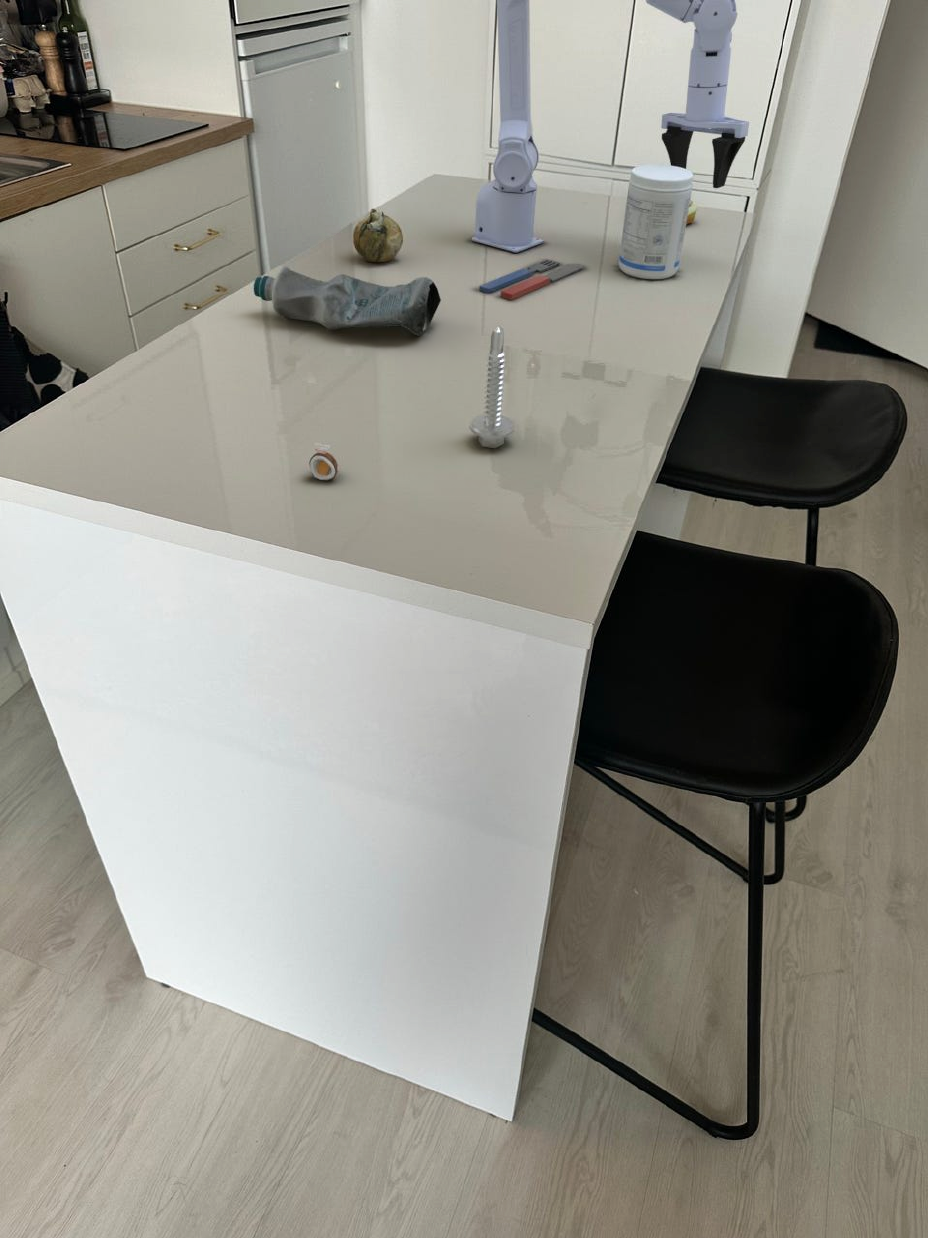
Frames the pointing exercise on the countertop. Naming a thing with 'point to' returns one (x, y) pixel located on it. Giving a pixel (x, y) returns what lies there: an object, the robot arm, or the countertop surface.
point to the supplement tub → (655, 220)
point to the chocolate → (323, 464)
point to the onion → (377, 237)
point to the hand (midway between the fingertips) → (698, 183)
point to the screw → (493, 398)
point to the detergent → (350, 301)
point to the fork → (517, 276)
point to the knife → (538, 282)
